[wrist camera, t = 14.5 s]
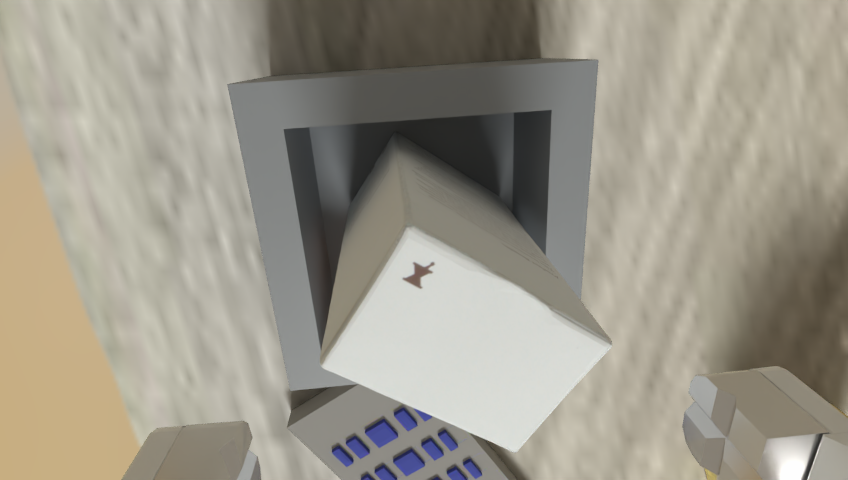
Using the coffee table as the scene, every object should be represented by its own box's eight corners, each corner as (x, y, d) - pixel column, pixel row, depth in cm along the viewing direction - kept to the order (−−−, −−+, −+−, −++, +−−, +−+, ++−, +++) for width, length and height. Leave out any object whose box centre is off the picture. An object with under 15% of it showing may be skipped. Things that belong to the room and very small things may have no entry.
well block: (270, 76, 20) (227, 84, 15) (541, 58, 21) (598, 59, 15) (311, 315, 25) (290, 390, 19) (534, 295, 25) (575, 362, 20)
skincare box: (346, 207, 22) (307, 366, 11) (394, 128, 21) (406, 214, 10) (454, 268, 23) (516, 461, 12) (504, 197, 22) (624, 341, 11)
